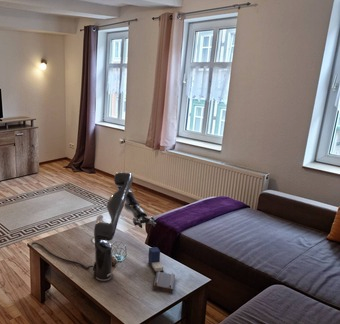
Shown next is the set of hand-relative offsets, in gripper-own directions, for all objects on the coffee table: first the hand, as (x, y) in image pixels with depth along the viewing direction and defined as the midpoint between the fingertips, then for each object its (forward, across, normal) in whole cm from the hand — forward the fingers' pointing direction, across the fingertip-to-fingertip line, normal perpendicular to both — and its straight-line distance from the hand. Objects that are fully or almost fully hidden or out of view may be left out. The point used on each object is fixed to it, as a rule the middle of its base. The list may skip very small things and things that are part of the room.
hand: (148, 226), depth 203 cm
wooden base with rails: (+29, -1, +20) cm, 36 cm away
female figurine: (-22, -24, +21) cm, 39 cm away
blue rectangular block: (+14, 0, +20) cm, 25 cm away
